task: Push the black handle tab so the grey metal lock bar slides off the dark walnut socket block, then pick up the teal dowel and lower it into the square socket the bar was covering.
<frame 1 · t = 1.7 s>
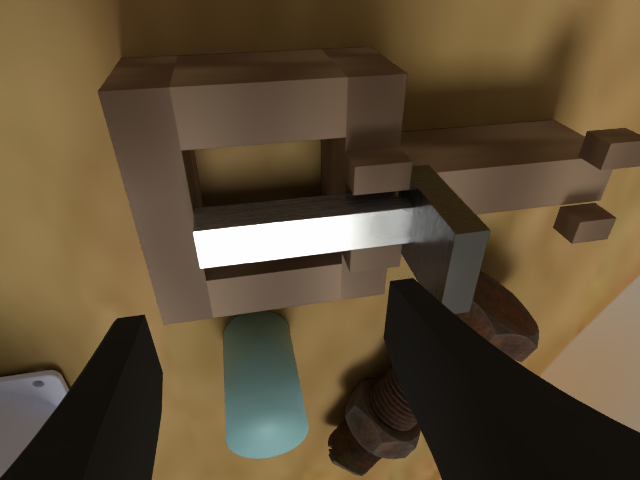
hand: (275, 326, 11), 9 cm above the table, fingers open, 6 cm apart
bolt: (395, 354, 28), on the table
mount: (260, 165, 19), on the table
lock bar: (327, 248, 14), point 6 cm above the table, slide at 0.0 cm
dowel: (256, 334, 24), on the table
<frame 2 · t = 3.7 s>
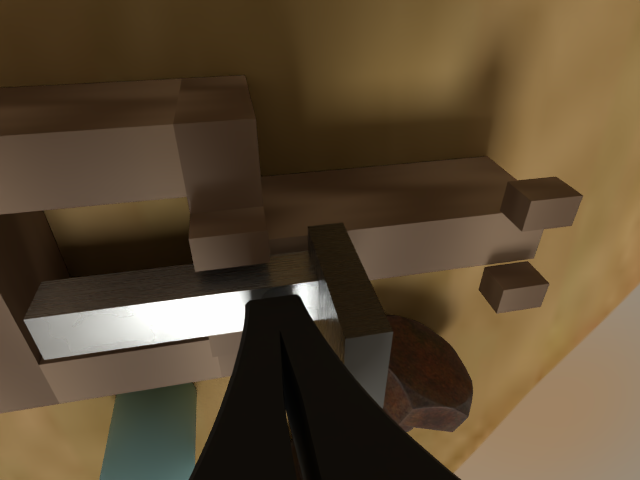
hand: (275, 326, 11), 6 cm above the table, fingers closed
bolt: (329, 407, 25), on the table
mount: (127, 214, 16), on the table
lock bar: (202, 336, 11), point 6 cm above the table, slide at 1.2 cm, touching gripper
dowel: (157, 396, 21), on the table
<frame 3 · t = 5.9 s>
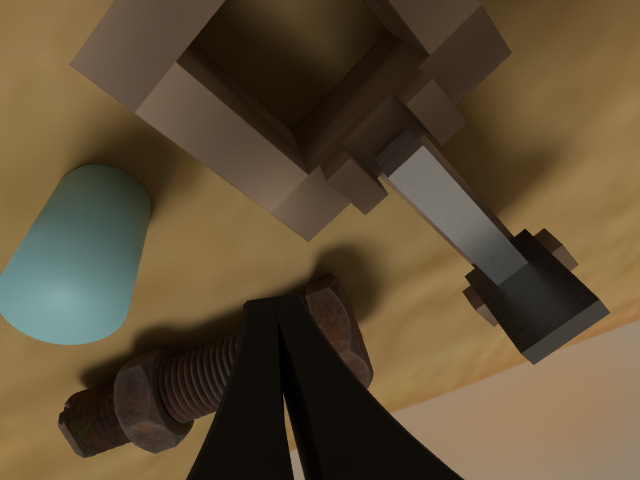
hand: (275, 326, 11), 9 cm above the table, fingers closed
bolt: (212, 338, 24), on the table
mount: (289, 33, 16), on the table
lock bar: (482, 244, 15), point 6 cm above the table, slide at 6.2 cm, touching mount
dowel: (104, 204, 18), on the table
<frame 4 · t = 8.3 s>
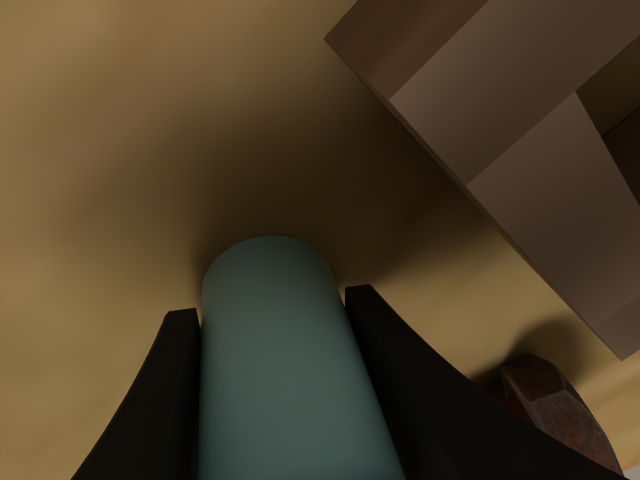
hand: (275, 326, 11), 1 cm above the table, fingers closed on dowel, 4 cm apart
bolt: (359, 436, 18), on the table
mount: (601, 32, 10), on the table
dowel: (268, 289, 12), on the table, touching gripper
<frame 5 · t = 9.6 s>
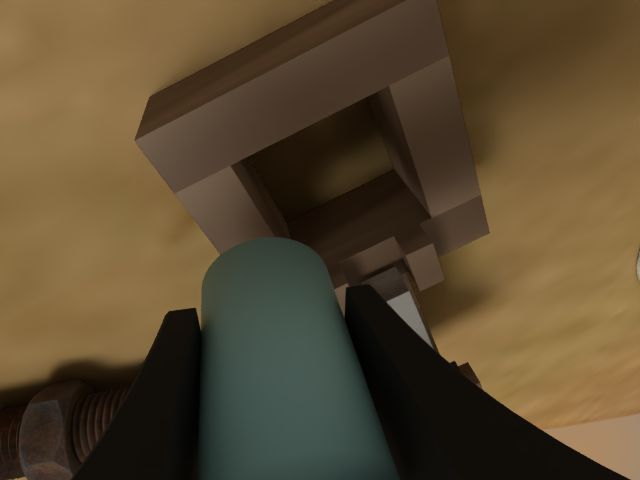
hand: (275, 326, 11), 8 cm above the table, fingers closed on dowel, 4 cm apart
bolt: (136, 377, 24), on the table
mount: (316, 146, 18), on the table
lock bar: (427, 376, 17), point 6 cm above the table, slide at 6.2 cm, touching mount
dowel: (267, 289, 13), point 7 cm above the table, touching gripper
when the fingers open (5 cm above the table, at t = 11.1 s): dowel drops 3 cm, resting in mount.
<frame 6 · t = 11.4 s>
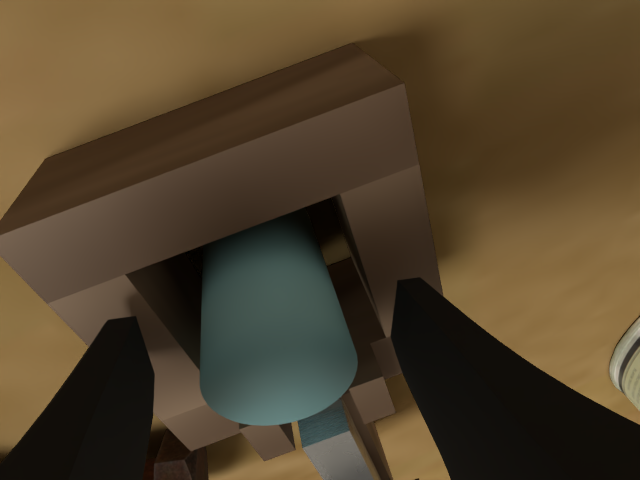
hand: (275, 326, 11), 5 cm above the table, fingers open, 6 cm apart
bolt: (29, 461, 20), on the table
mount: (258, 227, 15), on the table
dowel: (258, 233, 15), resting in mount
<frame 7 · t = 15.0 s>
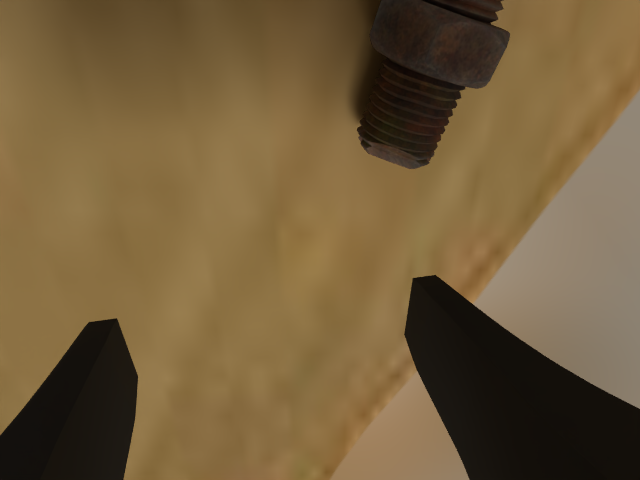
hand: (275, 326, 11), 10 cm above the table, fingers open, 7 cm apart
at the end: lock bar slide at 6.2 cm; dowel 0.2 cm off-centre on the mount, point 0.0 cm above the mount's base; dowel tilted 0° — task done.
